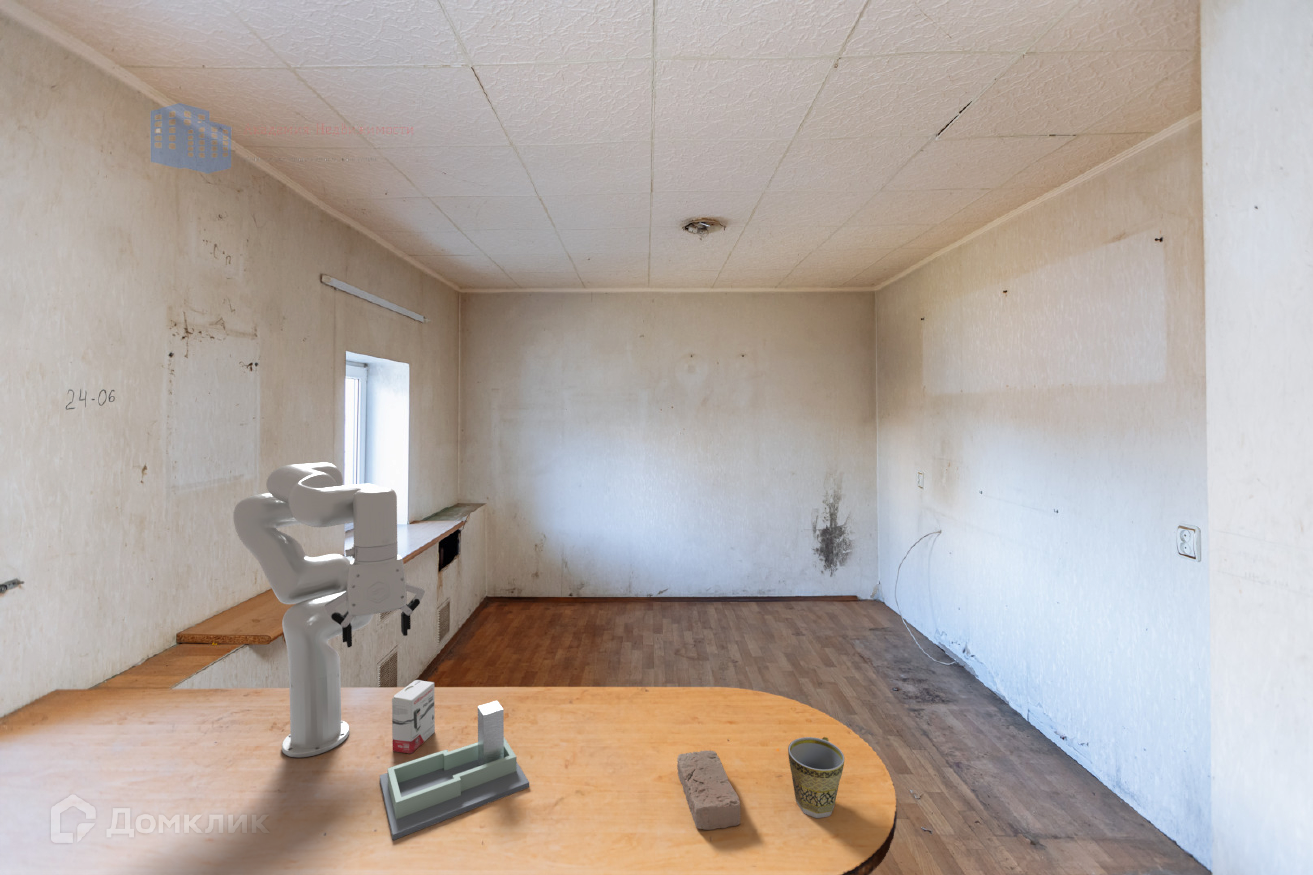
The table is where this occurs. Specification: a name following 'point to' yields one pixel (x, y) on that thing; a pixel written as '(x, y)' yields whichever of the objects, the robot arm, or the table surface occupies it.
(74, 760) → the table surface
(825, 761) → the ceramic cup
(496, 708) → the metal peg
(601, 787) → the table surface
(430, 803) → the green walled fixture tray
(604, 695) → the table surface
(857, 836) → the table surface
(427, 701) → the ink box
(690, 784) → the brick
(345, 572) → the robot arm
